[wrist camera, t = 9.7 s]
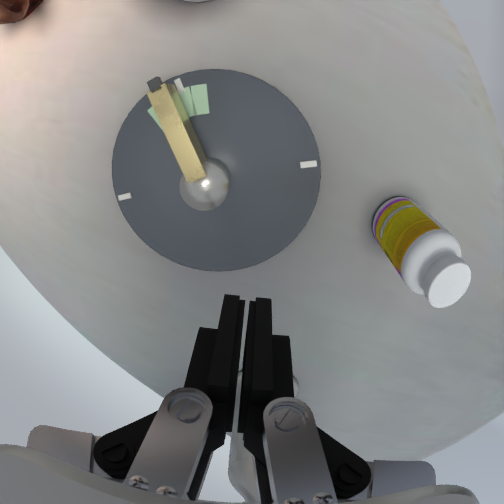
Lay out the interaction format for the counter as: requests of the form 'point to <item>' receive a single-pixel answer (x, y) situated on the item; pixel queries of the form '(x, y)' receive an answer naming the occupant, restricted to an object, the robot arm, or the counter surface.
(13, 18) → the decorative planter
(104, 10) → the counter surface
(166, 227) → the dial
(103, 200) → the counter surface
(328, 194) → the counter surface
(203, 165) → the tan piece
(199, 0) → the coffee cup
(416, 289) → the supplement bottle
